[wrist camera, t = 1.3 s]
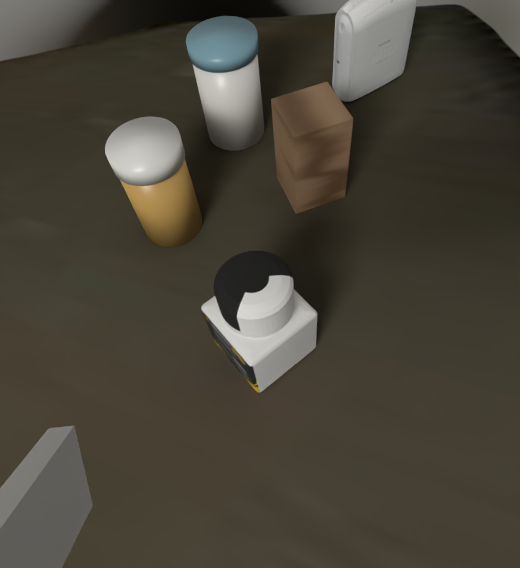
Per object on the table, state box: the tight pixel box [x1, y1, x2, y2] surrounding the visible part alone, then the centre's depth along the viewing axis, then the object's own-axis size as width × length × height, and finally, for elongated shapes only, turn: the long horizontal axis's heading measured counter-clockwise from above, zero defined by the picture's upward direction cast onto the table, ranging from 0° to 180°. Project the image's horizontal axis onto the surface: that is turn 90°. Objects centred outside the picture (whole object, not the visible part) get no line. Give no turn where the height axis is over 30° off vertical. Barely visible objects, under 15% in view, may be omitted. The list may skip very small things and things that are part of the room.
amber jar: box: [105, 117, 202, 247], centre depth 49 cm, size 7×7×12 cm
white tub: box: [186, 16, 264, 151], centre depth 56 cm, size 8×8×13 cm
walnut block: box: [271, 82, 353, 214], centre depth 50 cm, size 6×6×11 cm
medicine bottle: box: [201, 251, 317, 392], centre depth 40 cm, size 7×7×12 cm
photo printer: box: [332, 0, 417, 102], centre depth 58 cm, size 10×4×12 cm, turn 123°
